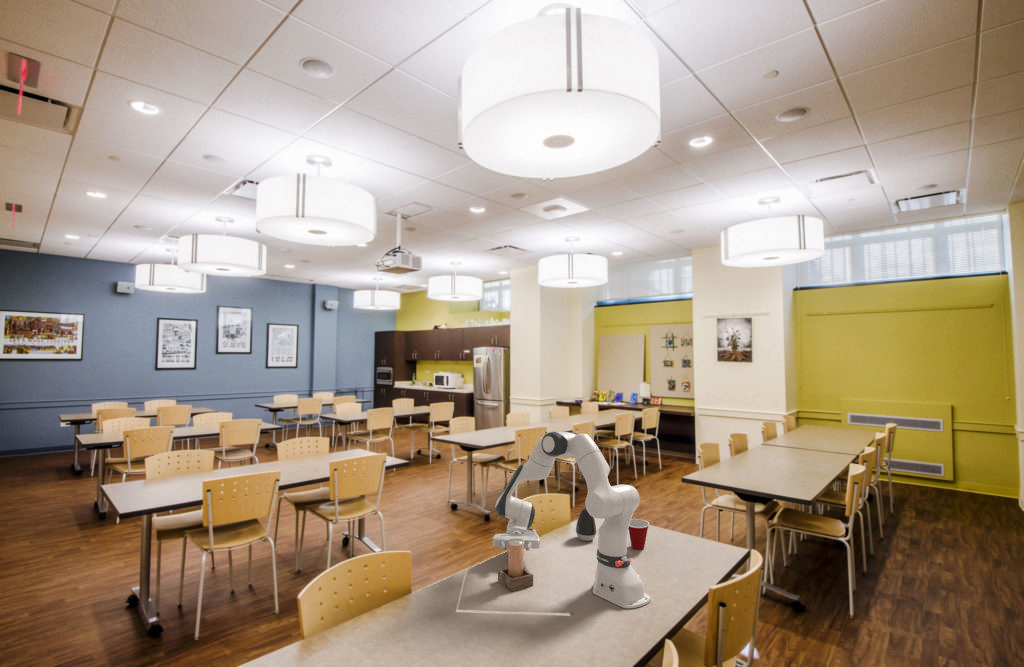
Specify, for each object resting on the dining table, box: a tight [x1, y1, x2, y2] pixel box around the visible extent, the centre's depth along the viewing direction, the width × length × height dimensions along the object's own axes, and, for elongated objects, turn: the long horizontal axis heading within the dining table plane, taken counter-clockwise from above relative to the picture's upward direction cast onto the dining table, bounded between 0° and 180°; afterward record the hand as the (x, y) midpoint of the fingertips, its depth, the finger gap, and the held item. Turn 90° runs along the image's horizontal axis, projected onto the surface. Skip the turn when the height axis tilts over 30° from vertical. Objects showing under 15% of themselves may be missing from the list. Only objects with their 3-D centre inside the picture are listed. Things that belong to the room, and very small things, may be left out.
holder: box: [497, 567, 534, 593], centre depth 185 cm, size 10×10×5 cm
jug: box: [507, 538, 525, 579], centre depth 184 cm, size 9×6×16 cm
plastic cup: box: [628, 518, 650, 551], centre depth 227 cm, size 11×11×12 cm
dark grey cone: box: [575, 506, 597, 542], centre depth 236 cm, size 10×10×15 cm
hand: (516, 548), depth 196 cm, fingers open, 8 cm apart
